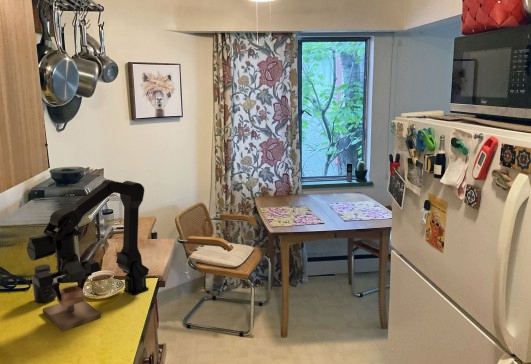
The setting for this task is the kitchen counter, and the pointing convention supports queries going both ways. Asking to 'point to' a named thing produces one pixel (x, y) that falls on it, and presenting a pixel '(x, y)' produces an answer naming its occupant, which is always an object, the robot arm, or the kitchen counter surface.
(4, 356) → the kitchen counter surface
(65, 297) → the brown hollow square block
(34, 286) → the supplement bottle
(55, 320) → the brown peg base
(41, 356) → the kitchen counter surface
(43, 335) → the kitchen counter surface
